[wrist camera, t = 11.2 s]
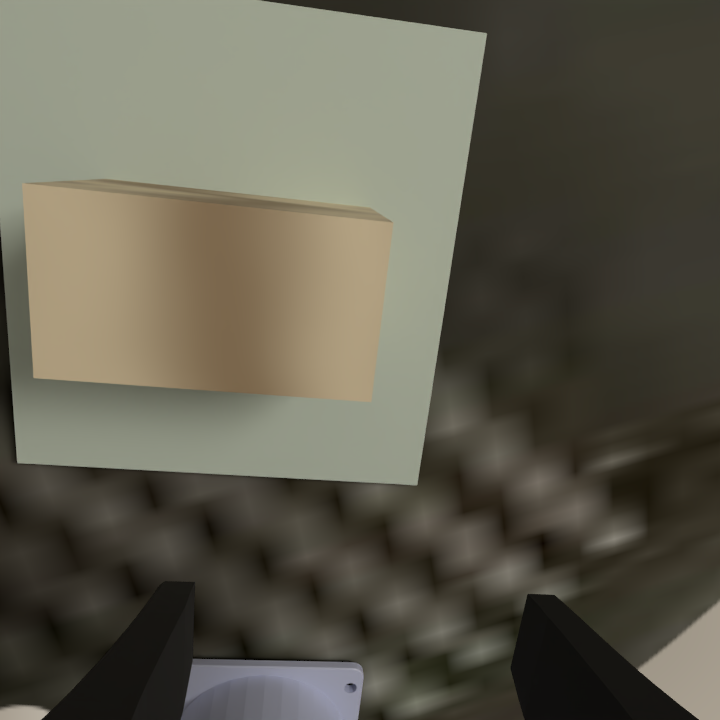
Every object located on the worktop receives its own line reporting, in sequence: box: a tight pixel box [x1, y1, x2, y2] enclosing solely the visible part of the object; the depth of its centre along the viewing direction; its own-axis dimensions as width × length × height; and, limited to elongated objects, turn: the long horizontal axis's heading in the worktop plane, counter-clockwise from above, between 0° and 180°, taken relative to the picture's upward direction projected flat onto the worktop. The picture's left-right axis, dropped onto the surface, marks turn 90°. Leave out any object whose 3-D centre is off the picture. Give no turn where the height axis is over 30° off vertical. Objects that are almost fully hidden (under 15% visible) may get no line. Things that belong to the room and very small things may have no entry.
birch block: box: [22, 179, 393, 402], centre depth 16 cm, size 8×4×6 cm, turn 84°
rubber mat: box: [0, 0, 487, 485], centre depth 19 cm, size 15×14×1 cm
